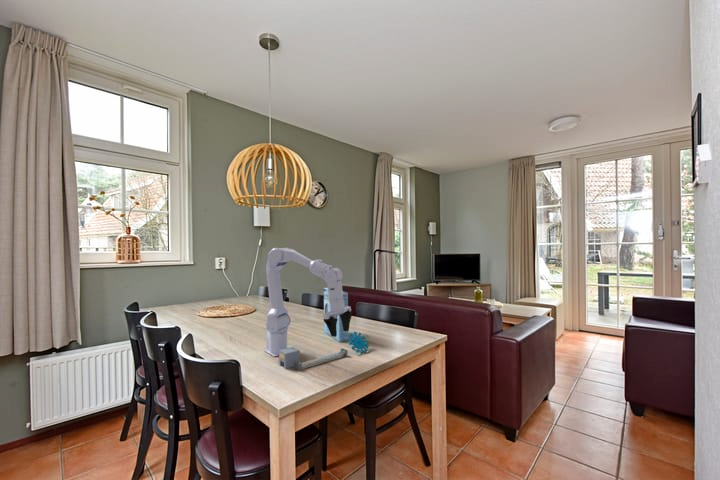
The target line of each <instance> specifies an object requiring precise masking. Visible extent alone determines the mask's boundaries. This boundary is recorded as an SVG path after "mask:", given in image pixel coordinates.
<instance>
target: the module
mask: <svg viewBox="0 0 720 480" xmlns="http://www.w3.org/2000/svg"><path fill="white" fill-rule="evenodd" d="M300 350H301V349H298V348H296V347H294V346H291V347H287V349H282V350H279V357H278V362H279V363H278V365H279V366H283V368H284V369H286V370H287V369H289V368H293V367H295V361H299V362H300V363H301V361H300V360H301V359H300V358H301V357H300V356H301V355H300V353H301V352H300Z"/></svg>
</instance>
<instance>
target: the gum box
mask: <svg viewBox="0 0 720 480" xmlns="http://www.w3.org/2000/svg"><path fill="white" fill-rule="evenodd" d="M348 294H349V293H348V292H347V291H343V299H344V307H347V306H349V295H348ZM329 311H330V304H329V295H328V287H323V314H325V313H327V312H329ZM333 318H337V325H336V330H337V336H336V337H333V336H331V334H330V331H329V329H328V327H327V325H326V323H325V322H324V321H323V330H324V331H323V332H324V333H325V334H327V335H328V336H330V337H331V338H332V339H334V340H336V341H338V342H339V343H342V342H349V340H348V338H349V331H344V330H343V325H342V321H341V318H340V315H337V316H334V317H333Z"/></svg>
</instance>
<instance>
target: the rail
mask: <svg viewBox="0 0 720 480" xmlns="http://www.w3.org/2000/svg"><path fill="white" fill-rule="evenodd" d="M346 357H348V349H345V348H340V350H339V352H335V353H331V354H327V355H324V356H321V357H317V358H315V359H314V358H313V359H309V360H307V361H303V362H301V361H300V362H299V361H295V366H294V369H295V370H297V371H302V370H304V369H307V368H310V367H314V366H317V365H321V364H324V363H327V362H331V361H335V360H337V359H342V358H346Z"/></svg>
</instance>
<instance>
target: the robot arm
mask: <svg viewBox="0 0 720 480" xmlns="http://www.w3.org/2000/svg"><path fill="white" fill-rule="evenodd" d="M290 262H294V263H297V264H299V265H300V266H304V267H305V268H308V269H309V272H310V273H311V274H313V275H315V276H316V277H319V278H321V279H323V280H324V282H325V283H326V286H327V288H328V295H329V304H330V311H329V312H327V313H325V314H324V313H323V314H322V317H323V323H324V322H325V323H326V325H327V327H328V329H329V331H330V334H331V336H333V337H336V336H337V330H336V325H337V318H333V317H334V316H337V315H340V318H341V321H342V325H343V330H344V331H348V332H349V331H350V323H351V319H352V316H353V312H352V308H351V306H349V305H348V306H347V307H344V299H343V282H342V280H343V278H344V274H343V273H344V272H343V271H342V270H341V269H340V268H339V267H333V265H331V264H330V265H329V264H326V263H324V262H323V259H315V260H312V259H310V258H308V257H307V256H305V255H303V254H301V253H299V252H298V251H296V250H295V249H293V248H290V247H284V248H282V247H280V248H279V247H273V248H272V249H271V250H270V251H269V252H268V253H267V262H266V266H265V274H266V280H267V290H268V297H269V298H268V299H269V309H270V310H269V311H268V313H267V315H266V323H265V326H266V329H267V333H266V337H265V338H266V339H265V341H266V345H265V347H266V349H263V350H264V352H265V353H267V354H269V355H271V356H272V357H277V356H279V350H282V349H287V348H288V328H289V326H290V324H291V317H290V316H289V312H288V310H287V309H286V307H285V306H284V298H283V297H284V295H283V289H282V288H283V287H282V281H281V272H280V271H281V270H282V269H283V268H284V266H285V265H287V264H289V263H290ZM331 336H330V337H331ZM333 337H332V338H333Z"/></svg>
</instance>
